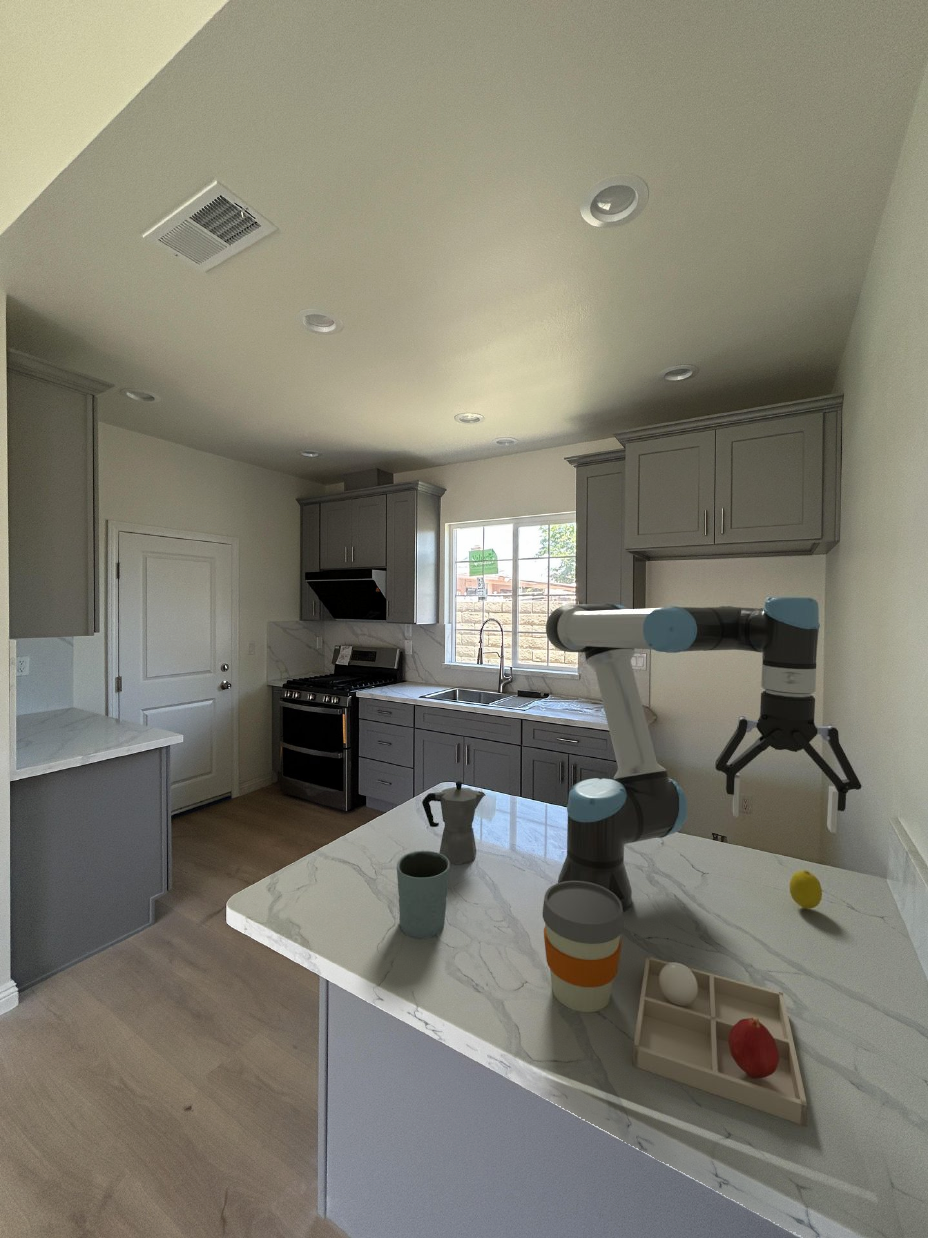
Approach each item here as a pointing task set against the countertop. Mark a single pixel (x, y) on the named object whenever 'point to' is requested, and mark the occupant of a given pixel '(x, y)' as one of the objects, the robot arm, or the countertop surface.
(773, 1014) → the wooden tray
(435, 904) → the green cup
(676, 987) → the ceramic egg
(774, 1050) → the onion
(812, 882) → the lemon
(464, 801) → the coffeepot
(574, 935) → the reusable coffee cup
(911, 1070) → the countertop surface
